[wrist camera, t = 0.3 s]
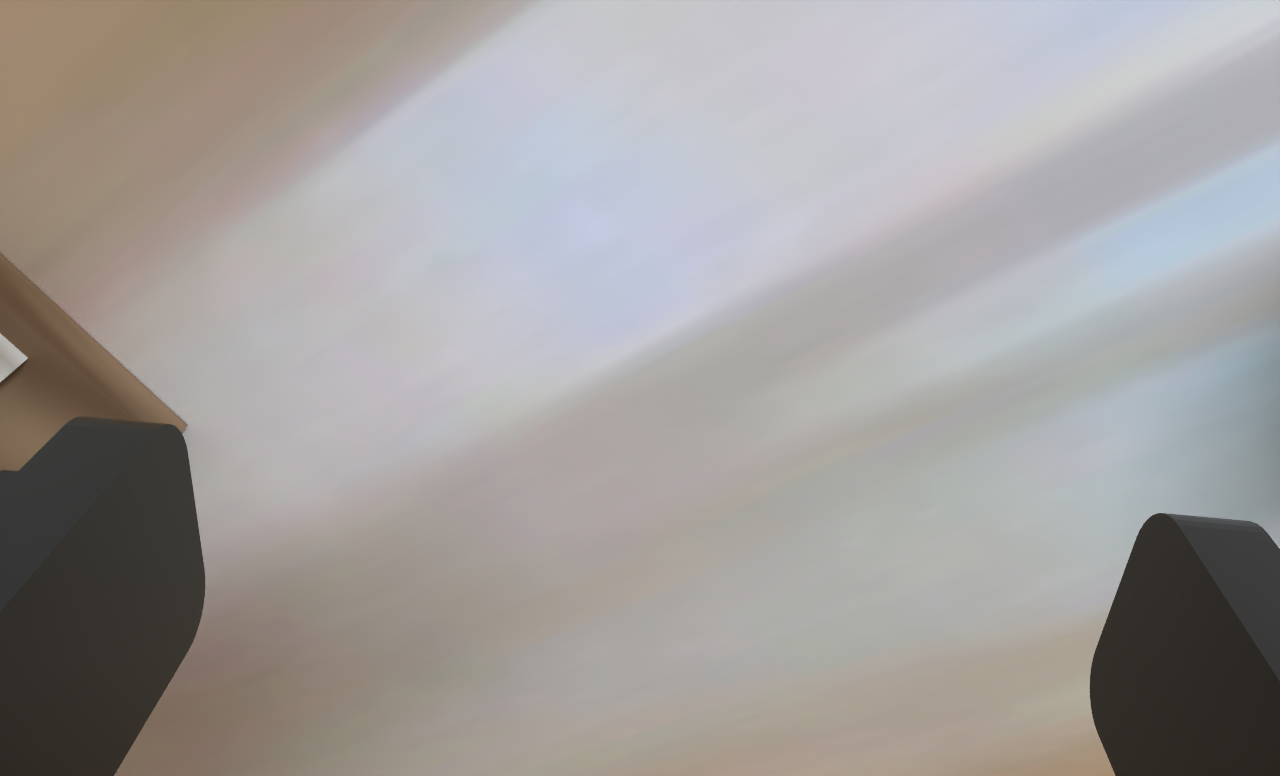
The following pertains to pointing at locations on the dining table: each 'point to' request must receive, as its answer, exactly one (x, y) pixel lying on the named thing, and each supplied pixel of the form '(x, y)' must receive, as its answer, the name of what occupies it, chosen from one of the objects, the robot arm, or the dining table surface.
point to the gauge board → (57, 374)
